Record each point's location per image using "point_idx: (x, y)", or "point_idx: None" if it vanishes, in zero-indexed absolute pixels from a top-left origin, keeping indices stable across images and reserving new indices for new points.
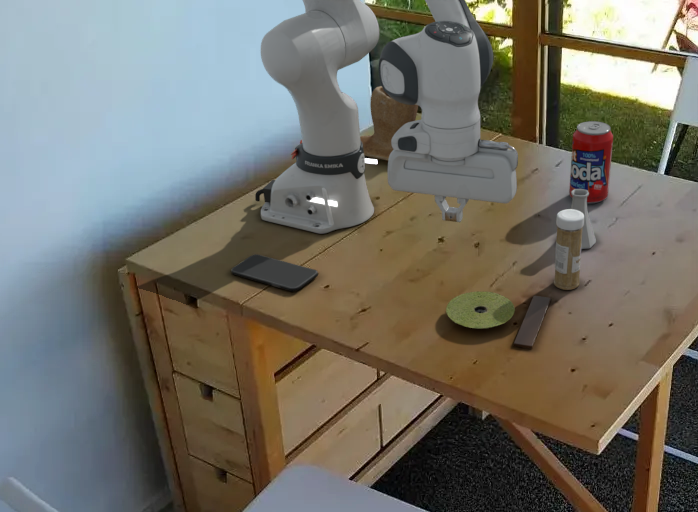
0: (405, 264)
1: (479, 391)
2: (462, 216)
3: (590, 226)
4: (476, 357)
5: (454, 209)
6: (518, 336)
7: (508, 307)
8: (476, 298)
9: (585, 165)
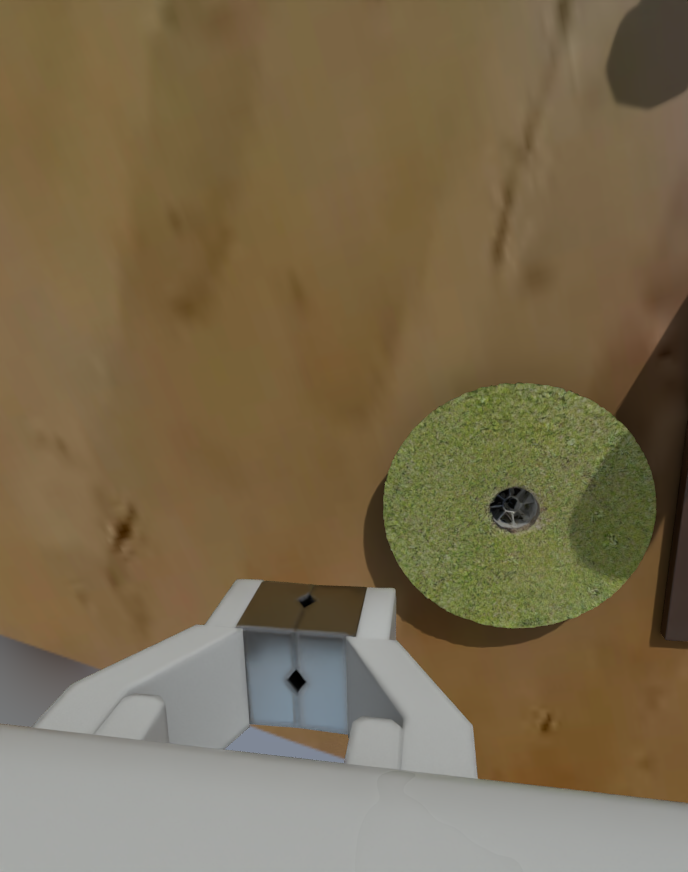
0: (111, 190)
1: None
2: (395, 600)
3: None
4: (545, 702)
5: (314, 671)
6: (677, 599)
7: (625, 478)
8: (480, 444)
9: None
